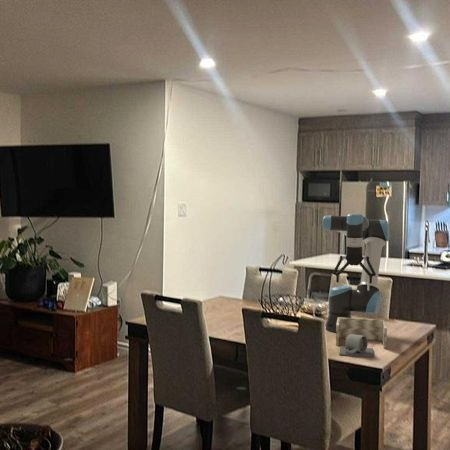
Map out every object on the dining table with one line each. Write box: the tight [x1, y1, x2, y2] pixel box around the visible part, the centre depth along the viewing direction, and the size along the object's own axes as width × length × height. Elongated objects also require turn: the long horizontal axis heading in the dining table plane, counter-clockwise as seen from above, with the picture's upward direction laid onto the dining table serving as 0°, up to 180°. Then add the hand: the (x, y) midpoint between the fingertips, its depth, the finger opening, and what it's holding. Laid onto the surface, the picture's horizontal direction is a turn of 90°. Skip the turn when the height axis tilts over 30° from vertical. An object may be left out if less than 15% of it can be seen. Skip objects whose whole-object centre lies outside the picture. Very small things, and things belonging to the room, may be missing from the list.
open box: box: [335, 317, 388, 350], centre depth 278 cm, size 23×17×10 cm
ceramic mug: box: [344, 334, 369, 354], centre depth 260 cm, size 11×8×8 cm
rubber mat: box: [339, 345, 375, 359], centre depth 261 cm, size 15×13×1 cm
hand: (353, 289), depth 274 cm, fingers open, 13 cm apart
